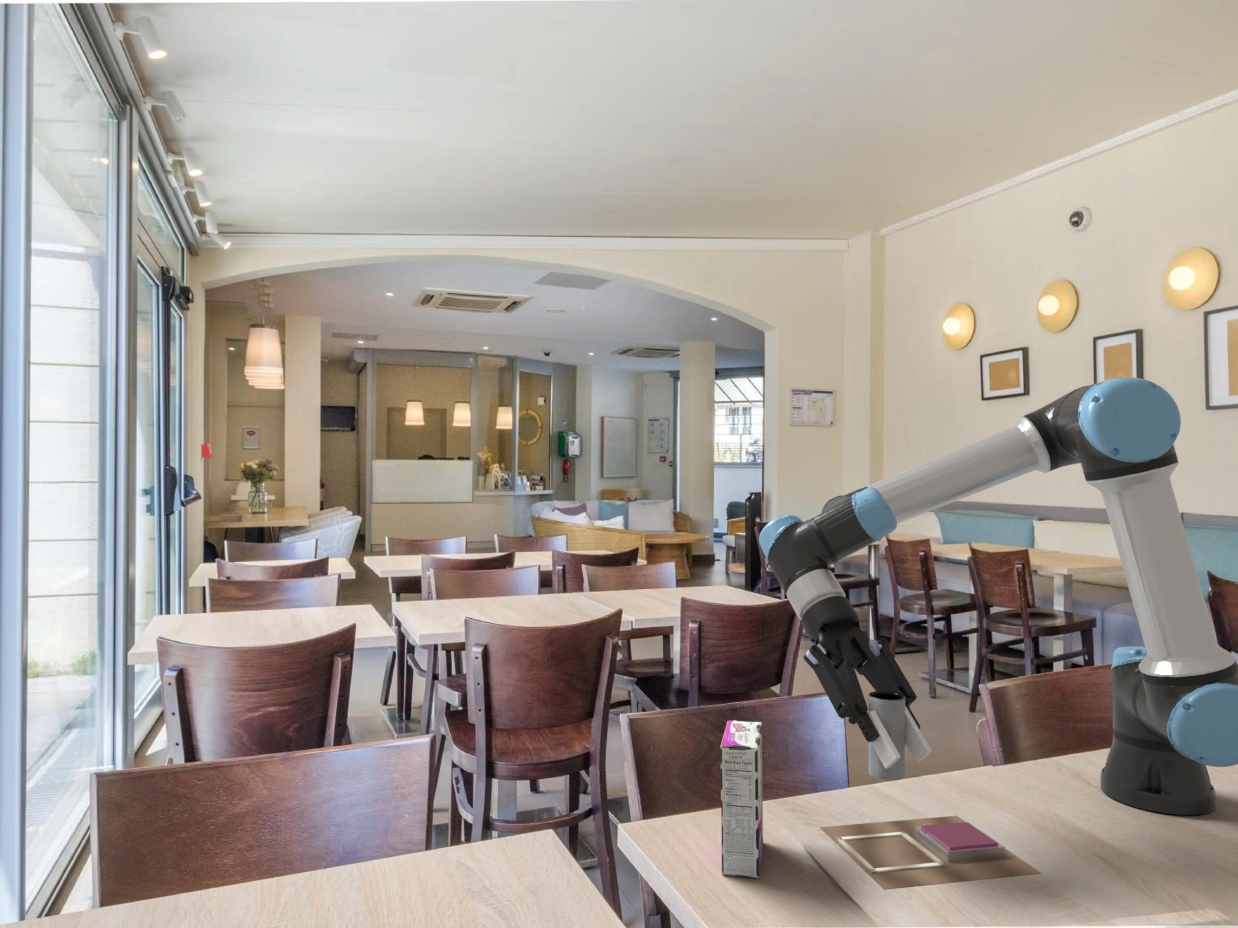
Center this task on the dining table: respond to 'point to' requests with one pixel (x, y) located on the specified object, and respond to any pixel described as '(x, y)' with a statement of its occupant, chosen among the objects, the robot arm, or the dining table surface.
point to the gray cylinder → (893, 720)
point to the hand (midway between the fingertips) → (908, 759)
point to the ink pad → (959, 841)
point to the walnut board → (915, 855)
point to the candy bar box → (741, 799)
